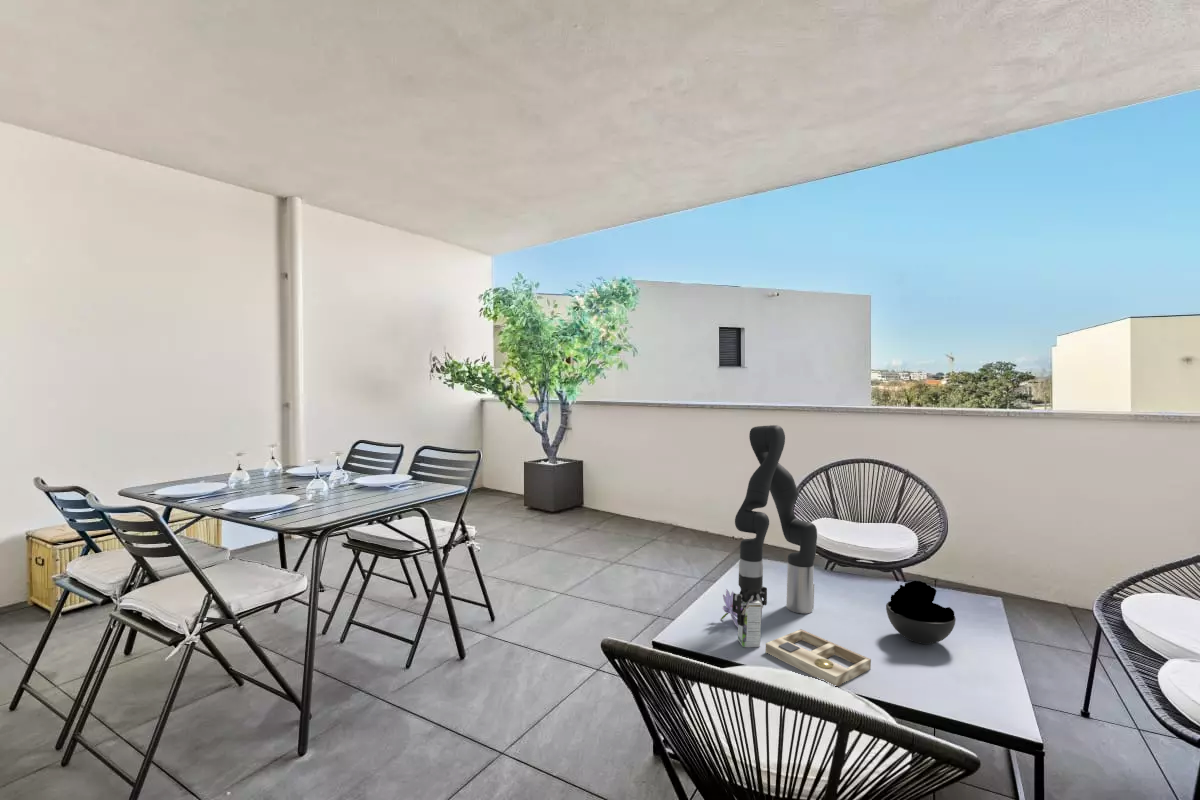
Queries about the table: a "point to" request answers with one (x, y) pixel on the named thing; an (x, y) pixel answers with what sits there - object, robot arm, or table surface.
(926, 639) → the bowl of black rocks
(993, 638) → the table surface
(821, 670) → the socket block
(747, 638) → the syrup box
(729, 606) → the water lily
